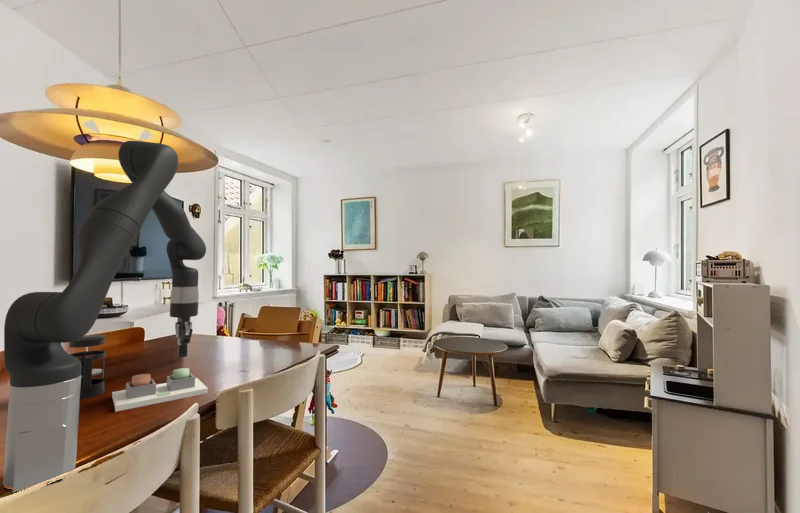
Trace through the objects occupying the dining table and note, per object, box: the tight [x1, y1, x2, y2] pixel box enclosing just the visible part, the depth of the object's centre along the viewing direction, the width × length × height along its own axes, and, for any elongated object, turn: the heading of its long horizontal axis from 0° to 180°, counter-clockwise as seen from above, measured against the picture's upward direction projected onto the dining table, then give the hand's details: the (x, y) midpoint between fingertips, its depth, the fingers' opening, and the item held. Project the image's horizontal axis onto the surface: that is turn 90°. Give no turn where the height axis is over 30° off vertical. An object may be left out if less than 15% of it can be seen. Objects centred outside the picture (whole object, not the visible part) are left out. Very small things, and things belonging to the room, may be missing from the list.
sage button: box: [172, 367, 190, 380], centre depth 108 cm, size 4×4×3 cm
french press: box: [68, 330, 108, 400], centre depth 104 cm, size 12×9×23 cm
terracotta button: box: [131, 373, 152, 387], centre depth 101 cm, size 4×4×3 cm
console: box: [111, 372, 209, 413], centre depth 104 cm, size 14×22×4 cm, turn 133°
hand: (182, 356), depth 108 cm, fingers closed
